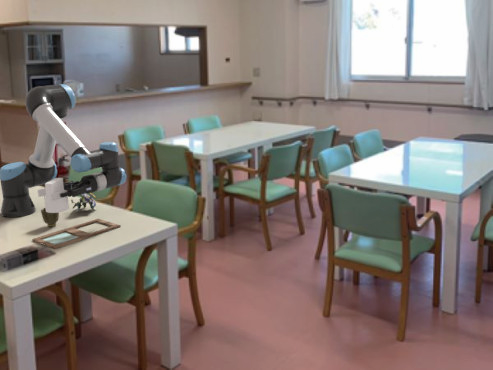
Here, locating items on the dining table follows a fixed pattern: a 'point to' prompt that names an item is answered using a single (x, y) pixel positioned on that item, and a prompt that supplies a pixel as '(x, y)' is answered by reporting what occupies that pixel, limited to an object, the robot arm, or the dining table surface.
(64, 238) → the frame with rectangular openings
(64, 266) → the dining table surface
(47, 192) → the base with upright slab
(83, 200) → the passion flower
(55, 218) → the cup
